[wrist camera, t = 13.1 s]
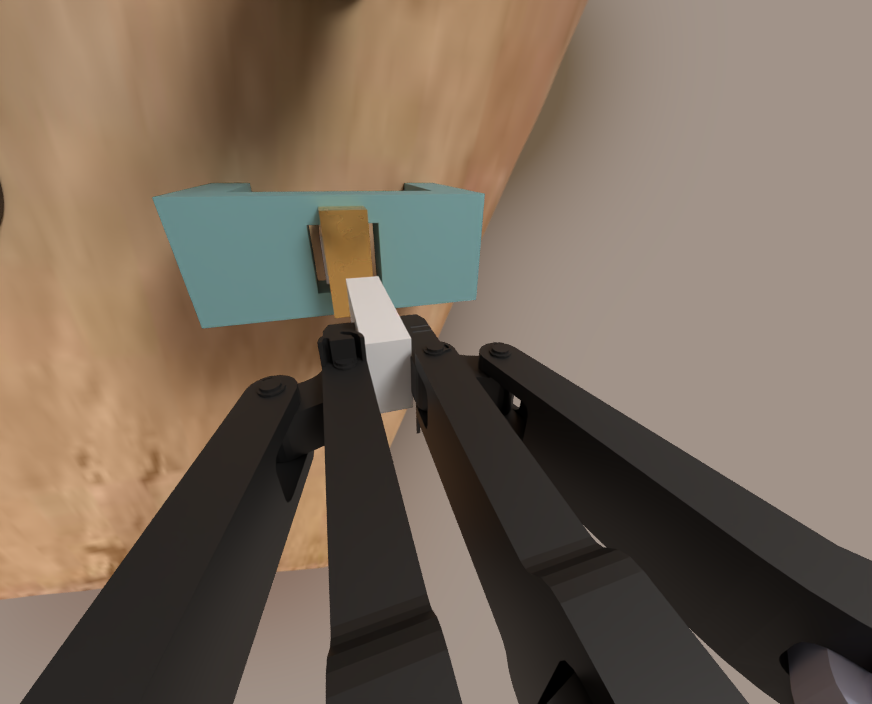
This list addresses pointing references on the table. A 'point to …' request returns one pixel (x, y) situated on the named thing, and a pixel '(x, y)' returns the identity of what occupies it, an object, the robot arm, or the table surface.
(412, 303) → the teal slotted arch
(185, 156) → the table surface
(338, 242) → the golden orange block
